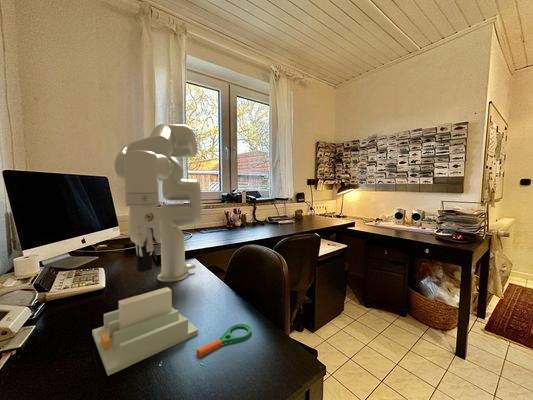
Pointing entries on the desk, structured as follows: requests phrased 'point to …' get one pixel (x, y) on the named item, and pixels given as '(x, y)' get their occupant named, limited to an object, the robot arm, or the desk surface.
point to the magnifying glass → (224, 339)
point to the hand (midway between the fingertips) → (144, 269)
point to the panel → (144, 307)
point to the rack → (139, 338)
